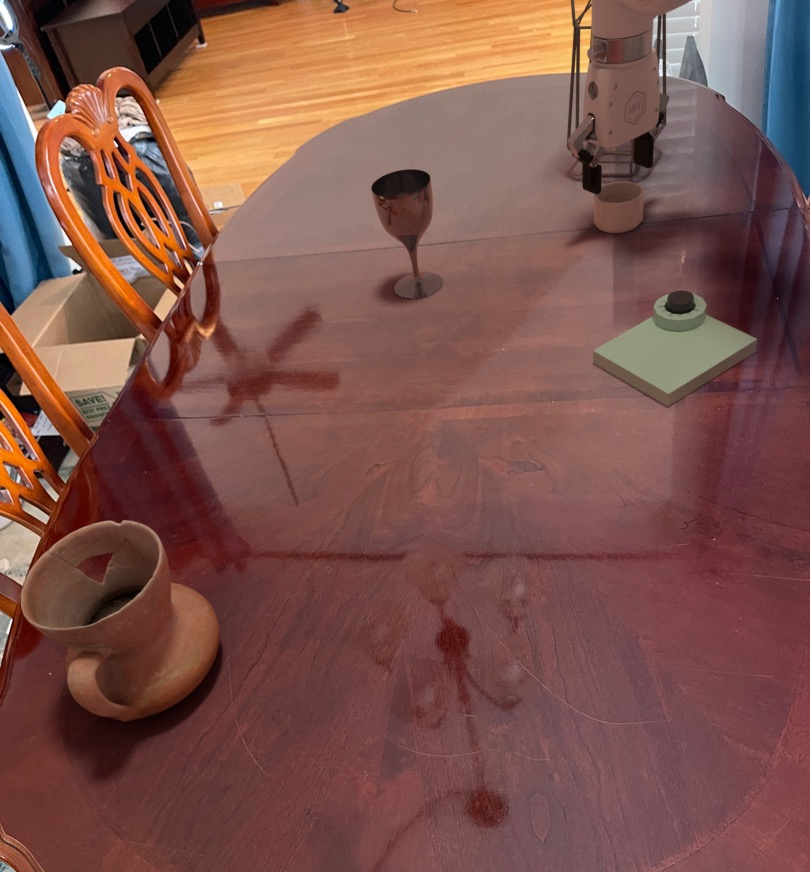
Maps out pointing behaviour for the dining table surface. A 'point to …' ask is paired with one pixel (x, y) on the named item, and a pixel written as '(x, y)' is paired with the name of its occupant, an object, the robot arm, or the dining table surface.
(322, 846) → the dining table surface
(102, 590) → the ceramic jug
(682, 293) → the button
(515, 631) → the dining table surface
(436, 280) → the wine glass
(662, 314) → the scale
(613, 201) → the bowl
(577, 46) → the geometric lantern
